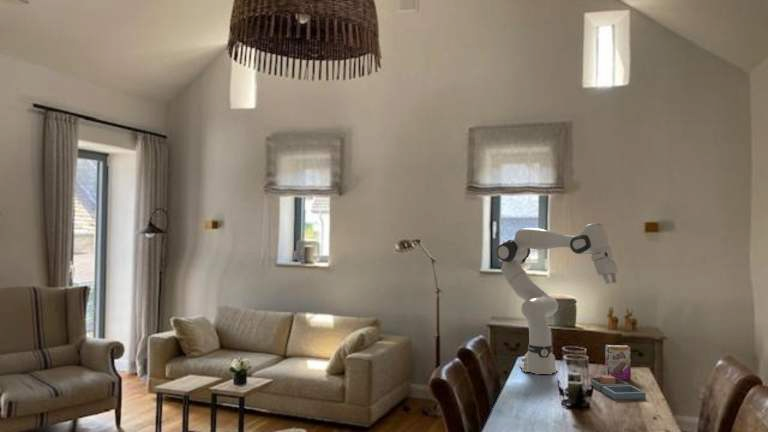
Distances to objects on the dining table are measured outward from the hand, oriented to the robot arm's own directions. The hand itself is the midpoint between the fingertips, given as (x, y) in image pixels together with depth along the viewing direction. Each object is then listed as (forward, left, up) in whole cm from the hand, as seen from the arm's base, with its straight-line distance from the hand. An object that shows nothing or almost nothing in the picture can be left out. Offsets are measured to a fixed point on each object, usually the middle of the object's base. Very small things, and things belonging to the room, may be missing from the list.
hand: (611, 283), depth 275 cm
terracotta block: (+1, -3, -49) cm, 49 cm away
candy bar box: (-12, +9, -49) cm, 51 cm away
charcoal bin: (+1, -3, -49) cm, 49 cm away
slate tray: (+16, -3, -49) cm, 51 cm away
